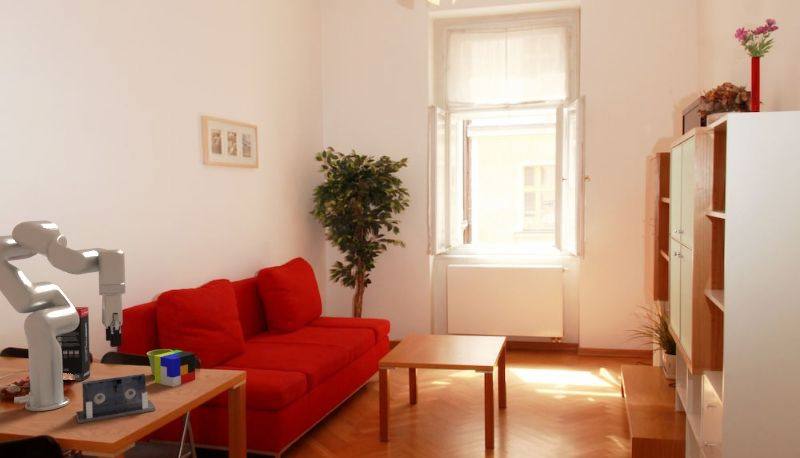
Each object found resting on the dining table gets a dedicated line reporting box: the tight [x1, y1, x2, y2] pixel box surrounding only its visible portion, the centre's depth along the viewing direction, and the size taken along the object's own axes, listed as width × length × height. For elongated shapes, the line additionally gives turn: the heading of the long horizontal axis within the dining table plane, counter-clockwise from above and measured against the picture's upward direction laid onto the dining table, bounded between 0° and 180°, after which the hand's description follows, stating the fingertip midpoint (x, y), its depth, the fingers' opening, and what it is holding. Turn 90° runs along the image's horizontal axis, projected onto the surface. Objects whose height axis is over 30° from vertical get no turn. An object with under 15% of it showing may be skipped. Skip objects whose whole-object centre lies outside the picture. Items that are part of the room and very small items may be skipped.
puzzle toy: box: [154, 349, 196, 388], centre depth 241 cm, size 10×10×10 cm
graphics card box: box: [56, 306, 91, 382], centre depth 244 cm, size 17×7×27 cm, turn 92°
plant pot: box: [146, 348, 173, 377], centre depth 251 cm, size 9×9×9 cm
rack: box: [75, 391, 156, 424], centre depth 207 cm, size 22×9×6 cm, turn 122°
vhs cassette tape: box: [81, 373, 147, 416], centre depth 207 cm, size 18×3×10 cm, turn 120°
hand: (113, 343), depth 206 cm, fingers open, 9 cm apart
